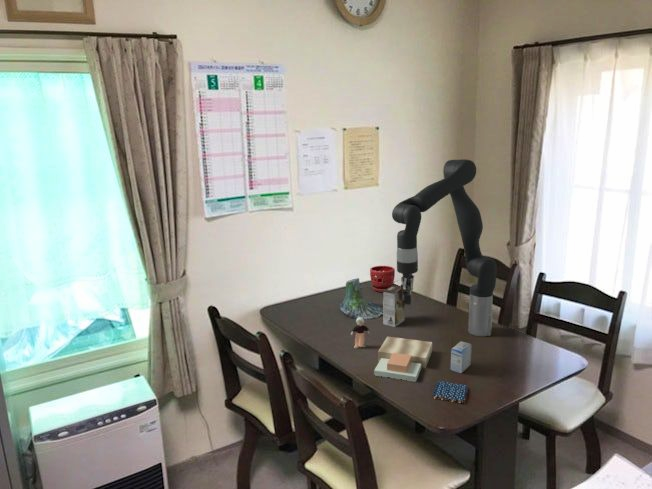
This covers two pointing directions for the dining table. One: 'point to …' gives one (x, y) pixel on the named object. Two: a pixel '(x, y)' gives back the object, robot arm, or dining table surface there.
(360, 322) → the grandmother figurine
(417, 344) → the beige flat block
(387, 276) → the plant pot
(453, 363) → the medicine box
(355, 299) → the tree stump
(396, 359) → the tile
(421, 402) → the dining table surface
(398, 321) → the coffee box
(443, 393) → the woven mat
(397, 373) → the mat
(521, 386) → the dining table surface
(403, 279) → the robot arm
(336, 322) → the dining table surface
